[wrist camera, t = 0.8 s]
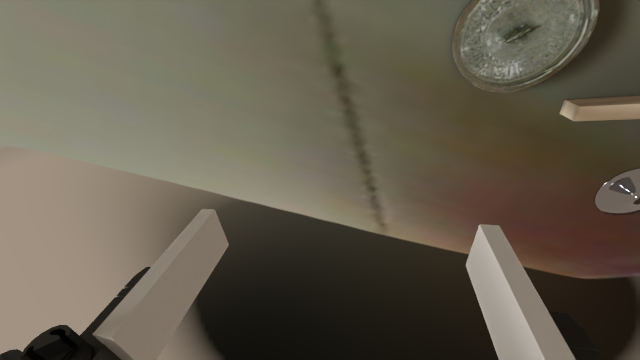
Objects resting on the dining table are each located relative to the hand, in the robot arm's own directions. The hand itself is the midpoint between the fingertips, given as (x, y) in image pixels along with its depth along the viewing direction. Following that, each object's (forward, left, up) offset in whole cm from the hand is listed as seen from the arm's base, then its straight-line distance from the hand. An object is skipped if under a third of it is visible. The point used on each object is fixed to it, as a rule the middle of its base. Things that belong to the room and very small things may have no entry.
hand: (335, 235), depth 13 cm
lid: (-6, +15, -23) cm, 28 cm away
